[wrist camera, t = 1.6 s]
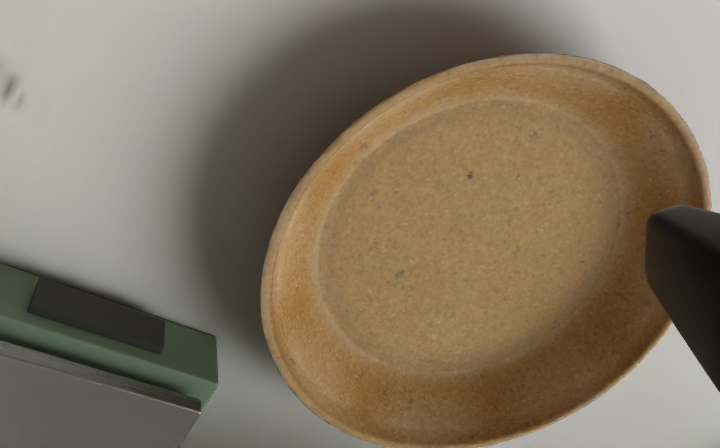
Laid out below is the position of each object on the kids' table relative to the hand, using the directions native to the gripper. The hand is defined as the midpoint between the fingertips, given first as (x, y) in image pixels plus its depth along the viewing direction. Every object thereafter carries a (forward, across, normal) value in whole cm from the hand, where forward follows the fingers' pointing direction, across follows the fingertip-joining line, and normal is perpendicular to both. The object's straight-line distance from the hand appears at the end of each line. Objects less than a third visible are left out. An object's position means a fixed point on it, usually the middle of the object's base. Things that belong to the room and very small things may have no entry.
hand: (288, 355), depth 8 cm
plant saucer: (+13, -6, +9) cm, 17 cm away
